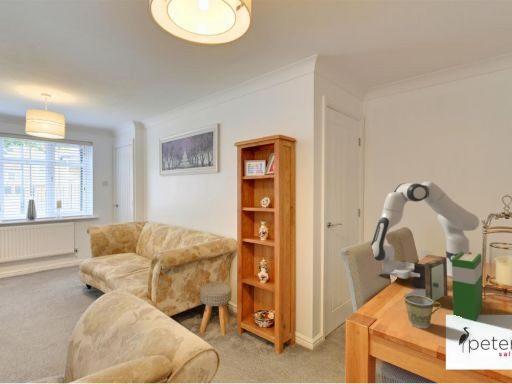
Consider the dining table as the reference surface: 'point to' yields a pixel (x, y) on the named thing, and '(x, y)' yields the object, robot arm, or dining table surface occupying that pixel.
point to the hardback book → (467, 285)
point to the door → (437, 282)
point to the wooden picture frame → (429, 275)
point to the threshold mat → (418, 292)
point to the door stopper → (419, 281)
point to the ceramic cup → (420, 310)
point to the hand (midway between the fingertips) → (423, 274)
